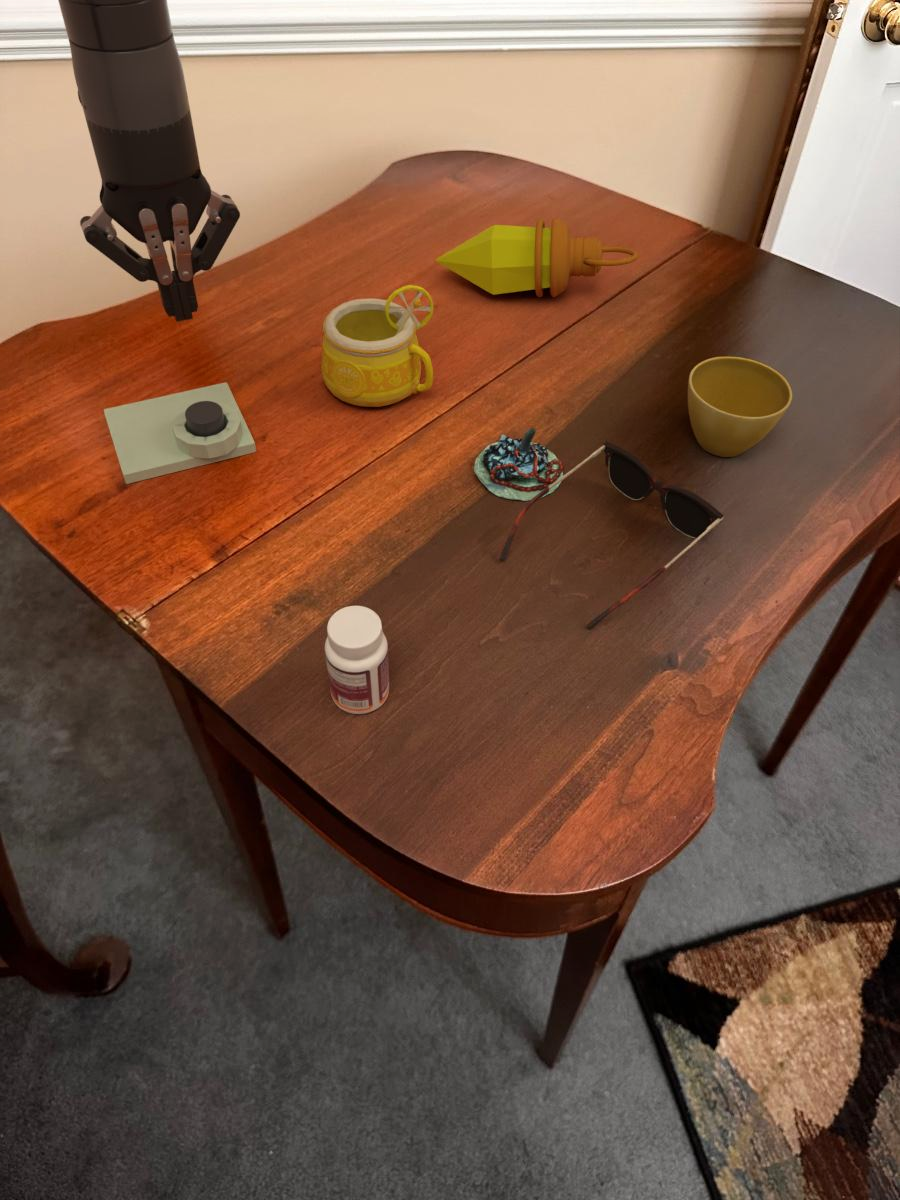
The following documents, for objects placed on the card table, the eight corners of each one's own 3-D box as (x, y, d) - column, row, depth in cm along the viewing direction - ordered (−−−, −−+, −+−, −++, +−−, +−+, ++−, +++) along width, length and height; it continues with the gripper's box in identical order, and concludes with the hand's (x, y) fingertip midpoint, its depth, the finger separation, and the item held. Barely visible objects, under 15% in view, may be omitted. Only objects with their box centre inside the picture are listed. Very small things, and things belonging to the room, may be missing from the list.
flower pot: (736, 488, 87) (758, 431, 82) (654, 441, 91) (669, 384, 86) (787, 443, 92) (811, 386, 86) (706, 400, 96) (724, 344, 91)
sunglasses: (713, 549, 81) (726, 512, 77) (601, 647, 75) (608, 612, 71) (600, 475, 88) (607, 437, 84) (487, 559, 81) (489, 522, 77)
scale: (127, 489, 84) (119, 465, 82) (106, 418, 91) (98, 394, 89) (258, 456, 88) (254, 433, 85) (228, 390, 95) (224, 367, 92)
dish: (531, 412, 90) (538, 416, 82) (565, 472, 91) (575, 481, 84) (465, 454, 91) (466, 461, 83) (500, 511, 92) (504, 524, 85)
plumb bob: (430, 308, 108) (636, 305, 104) (425, 230, 102) (641, 224, 98) (441, 286, 115) (634, 283, 111) (437, 213, 110) (639, 207, 106)
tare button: (193, 441, 85) (189, 427, 84) (184, 419, 87) (181, 405, 86) (229, 432, 86) (226, 418, 85) (220, 411, 88) (217, 397, 87)
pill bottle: (366, 657, 72) (361, 591, 66) (401, 695, 70) (400, 630, 63) (318, 686, 70) (308, 621, 63) (352, 726, 68) (346, 662, 61)
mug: (303, 398, 94) (292, 297, 85) (353, 347, 101) (347, 248, 92) (409, 433, 91) (409, 331, 82) (453, 377, 98) (457, 278, 88)
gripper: (49, 137, 60) (114, 354, 73) (238, 112, 64) (267, 323, 77) (35, 97, 64) (98, 309, 77) (212, 76, 68) (244, 281, 81)
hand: (182, 315), depth 77 cm, fingers closed
